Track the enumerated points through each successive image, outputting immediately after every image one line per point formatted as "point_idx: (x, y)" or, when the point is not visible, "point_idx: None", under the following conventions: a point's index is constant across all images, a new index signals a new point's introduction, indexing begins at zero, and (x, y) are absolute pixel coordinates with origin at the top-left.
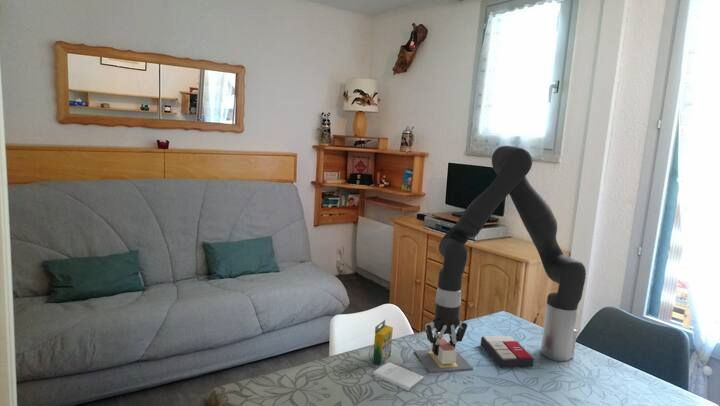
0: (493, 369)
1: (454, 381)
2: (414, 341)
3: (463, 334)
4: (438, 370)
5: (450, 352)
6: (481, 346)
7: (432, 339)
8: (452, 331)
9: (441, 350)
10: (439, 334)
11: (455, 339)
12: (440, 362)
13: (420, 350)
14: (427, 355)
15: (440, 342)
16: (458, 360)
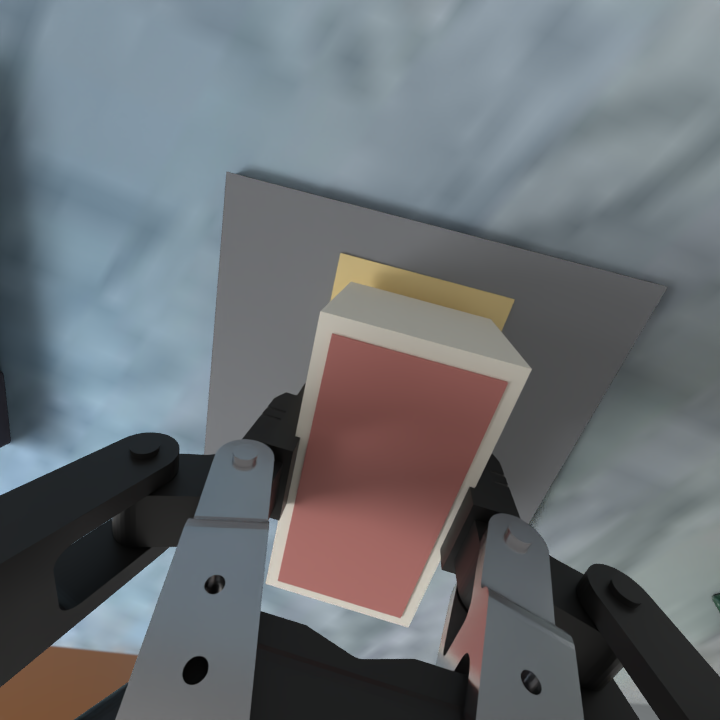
0: (47, 104)
1: (564, 29)
2: (396, 637)
3: (6, 504)
4: (575, 265)
5: (416, 330)
6: (5, 430)
7: (637, 628)
8: (217, 682)
9: (504, 413)
10: (579, 711)
11: (219, 483)
12: None
13: None
14: None
15: (381, 544)
16: (274, 338)
